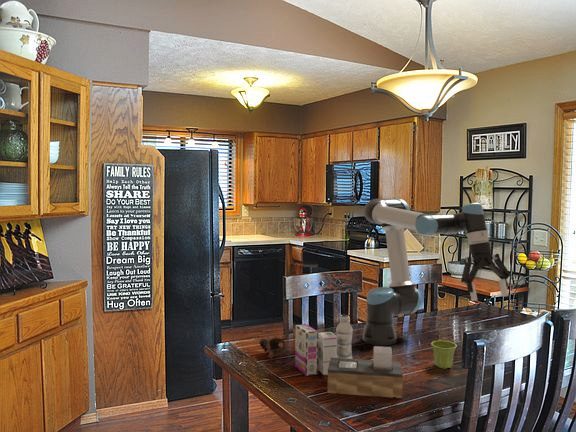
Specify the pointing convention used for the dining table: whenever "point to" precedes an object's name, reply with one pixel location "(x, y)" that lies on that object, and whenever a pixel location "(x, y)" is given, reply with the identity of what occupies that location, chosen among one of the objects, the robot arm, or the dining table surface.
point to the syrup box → (326, 350)
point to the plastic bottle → (344, 337)
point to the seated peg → (347, 364)
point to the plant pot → (443, 353)
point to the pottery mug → (273, 346)
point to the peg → (382, 358)
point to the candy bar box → (306, 349)
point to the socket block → (364, 379)
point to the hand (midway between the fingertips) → (490, 298)
